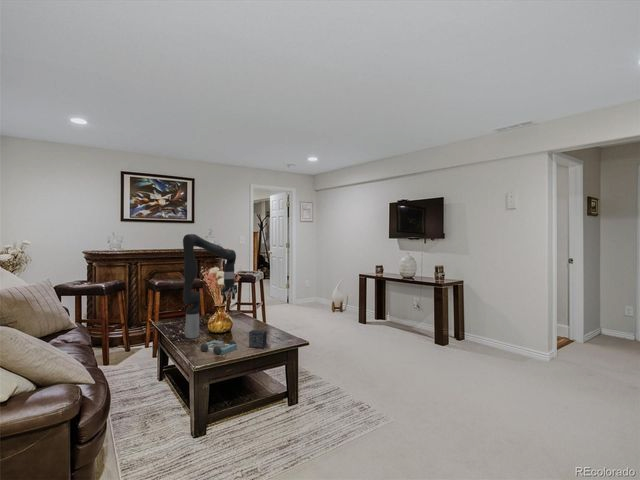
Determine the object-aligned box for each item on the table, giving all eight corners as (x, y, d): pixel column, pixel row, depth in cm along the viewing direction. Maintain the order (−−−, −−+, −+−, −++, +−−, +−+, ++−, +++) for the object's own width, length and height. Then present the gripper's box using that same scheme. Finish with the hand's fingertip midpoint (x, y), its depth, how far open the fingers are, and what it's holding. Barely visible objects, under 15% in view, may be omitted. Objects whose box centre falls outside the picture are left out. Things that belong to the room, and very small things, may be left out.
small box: (267, 345, 239) (267, 330, 239) (263, 348, 233) (263, 333, 233) (252, 344, 242) (252, 329, 242) (248, 347, 235) (248, 332, 235)
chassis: (198, 350, 229) (198, 342, 229) (215, 343, 243) (215, 336, 243) (221, 355, 220) (221, 347, 220) (238, 348, 233) (238, 340, 233)
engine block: (212, 349, 231) (212, 342, 231) (217, 347, 235) (217, 340, 235) (219, 351, 228) (219, 343, 228) (224, 349, 232) (224, 341, 232)
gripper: (232, 276, 260) (232, 298, 261) (218, 278, 248) (218, 301, 248) (240, 277, 257) (239, 299, 257) (226, 279, 244) (226, 302, 244)
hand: (229, 300), depth 252 cm, fingers open, 8 cm apart
